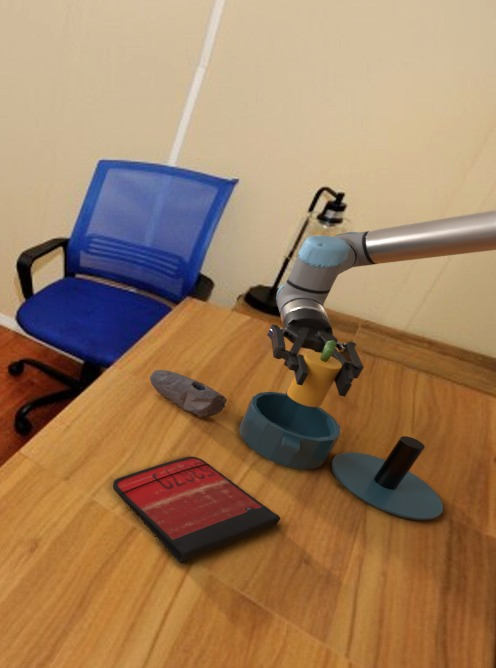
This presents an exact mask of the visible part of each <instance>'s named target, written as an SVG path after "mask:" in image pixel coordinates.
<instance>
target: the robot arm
mask: <svg viewBox="0 0 496 668" xmlns="http://www.w3.org/2000/svg"><path fill="white" fill-rule="evenodd" d="M491 251H496V209H492V210H486V211H480V212H474V213H473V212H472V213H467V214H462V215H456V216H449V217H443V218H438V219H432V220H426V221H420V222H413V223H408V224H402V225H394V226H389V227H384V228H383V227H382V228H377V229H372V230H367V231H359V232H358V231H348V232H343V233H339V234H336V235H334V236H332V235H331V236H330V235H323V234H318V235H314V234H313V235H310V236H308V237H307V238H305V239H304V242H303V244H302V245H301V247H300V248H299V249H298V252H297V256H296V259H295V261H294V263H293V266H292V268H291V270H290V273H289V275H288V278H287V280H286V281H285V283H283V284H282V285H280V287H279V288H278V289H277V292H276V297H275V300H276V305H277V307H278V311H279V315H280V321H281V324H282V327H280V326H279V325H277V324H271V325H270V327H269V330H268V332H267V335H266V336H267V337H268V338H269V339H270V340H271V350H272V356H273V358H274V359H276V360H281V359H282V360H284V363H283V366H284V367H287V369H288V370H289V371H293V373H294V377H295V378H296V382H297V384H298V385H303V383H304V381H305V379H306V377H307V375H308V371H307V367H306V364H305V360H304V356H305V355H303V354H299V353H300V350H301V349H307V350H311V351H313V352H319V353H322V352H323V349H324V347H325V344H326V342H327V341H331V340H332V341H335V342H336V347H335V348H334V353H333V354H332V357H334V358H335V359H337V360H338V361H340V362H341V364H342V367H341V369H340V371H339V373H338V375H337V377H336V378H335V380H334V384H335V387H336V389H337V392H338V396H340V397H344V398H346V396H347V394H348V393H349V391H350V389H351V387H352V385H353V384H352V383H353V381H354V379H358V378H359V377H360V375H361V373H362V372H363V370H364V365H363V362H362V360H361V358H360V356H359V354H358V351H357V350H356V346H357V343H356V342H354V341H348V342H342V341H339V339H338V338H337V337H336V336H335V335H334V332H333V327H332V324H331V322H330V319H329V316H328V313H327V311H326V309H325V305H324V304H325V303H326V300H327V298H328V296H329V294H330V292H331V290H332V288H333V286H334V285H335V282H336V280H337V278H338V277H339V275H340V274H343V273H344V272H347V271H349V270H350V269H352V268H357V267H358V268H359V267H365V266H366V267H367V266H373V265H380V264H389V263H397V262H404V261H415V260H423V259H430V258H431V259H432V258H439V257H449V256H456V255H465V254H475V253H482V252H491ZM285 339H287V340H288V341H289V342H290V343H292V346H291V348H290V350H287V349H286V348H287V347H286V342H285Z"/></svg>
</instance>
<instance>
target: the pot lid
mask: <svg viewBox="0 0 496 668" xmlns="http://www.w3.org/2000/svg"><path fill="white" fill-rule="evenodd" d="M425 447H426V446H425V444H424V443H423V442H421V441H420V440H419V439H417V438H414V437H412V436H407V435H403V436H400V437H399V439H398V440H397V442H396V443H395V445H394V446H393V448H391V449H392V450H391V451H390V453H389V454H388V456H386V459H384V458H381V457H377V456H375V455H370V454H367V453H361V452H352V451H351V452H341V453H339V454H337V455H335V456H334V457H333V459H332V460H331V464H330V465H331V471H332V473H333V475H334V476H335V478H336V479H337V480H338V481H339V482H340V483H341V485H342V486H343V487H345V489H347V490H348V491H349V492H351V493H352V494H353V495H355V496H356V497H357V498H358V499H360V500H362V501H363V502H366V503H367V504H369V505H371V506H373V507H375V508H377V509H379V510H381V511H383V512H386V513H388V514H391V515H393V516H397V517H400V518H404V519H409V520H415V521H431V520H435V519H437V518H439V517H440V516H441V515H442V513H443V510H444V505H443V501H442V499H441V498H440V495H438V493H437V492H436V491H435V490H434V489H433V487H431V486H430V485H429V484H428V483H427V482H425V481H424V480H423V479H421V478H420V477H419V476H418V475H416V474H415V473H412V472H411V471H410V469H411V468H412V467H413V466H414V464H415V463H416V461H417V459H418V458H419V456H420V455H421V454H422V453H423V451H424V449H425Z"/></svg>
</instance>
